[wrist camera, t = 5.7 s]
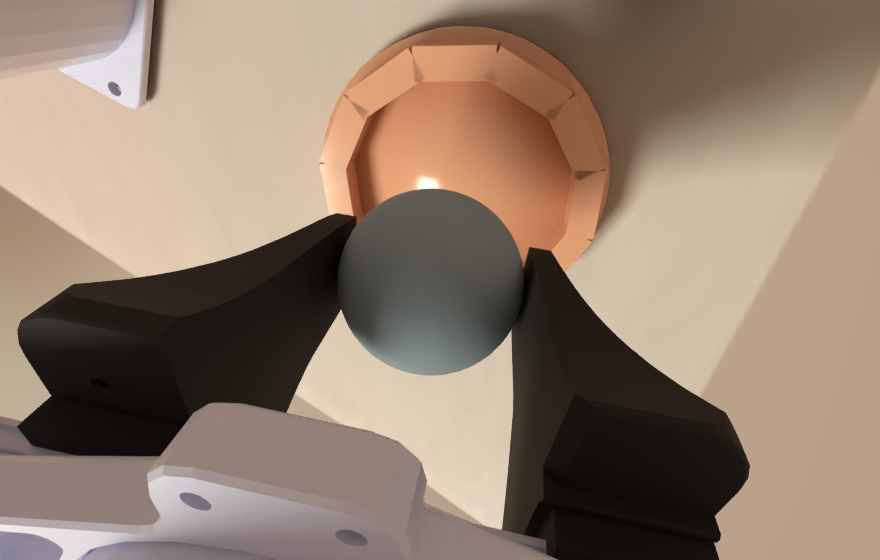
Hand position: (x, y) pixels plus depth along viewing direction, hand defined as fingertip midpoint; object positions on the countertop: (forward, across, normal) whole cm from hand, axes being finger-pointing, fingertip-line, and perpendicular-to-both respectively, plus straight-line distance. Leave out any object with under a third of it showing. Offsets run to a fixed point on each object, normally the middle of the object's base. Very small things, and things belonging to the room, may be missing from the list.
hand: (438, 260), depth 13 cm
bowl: (+6, 0, 0) cm, 6 cm away
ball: (-1, 0, 0) cm, 1 cm away
